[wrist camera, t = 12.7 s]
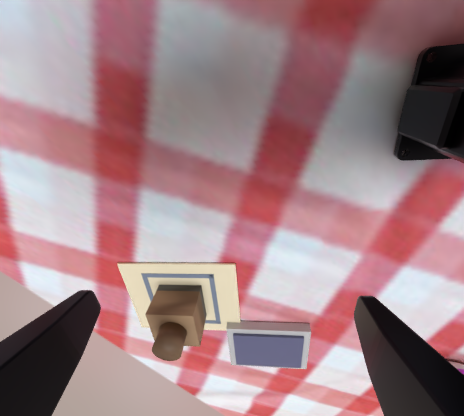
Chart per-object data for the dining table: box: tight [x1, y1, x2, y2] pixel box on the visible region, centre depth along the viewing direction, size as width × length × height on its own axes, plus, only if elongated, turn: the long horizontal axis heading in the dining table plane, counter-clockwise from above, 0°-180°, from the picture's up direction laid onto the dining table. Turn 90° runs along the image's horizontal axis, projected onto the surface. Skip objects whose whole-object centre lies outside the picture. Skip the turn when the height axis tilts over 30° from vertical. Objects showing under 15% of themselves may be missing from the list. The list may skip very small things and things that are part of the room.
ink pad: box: [226, 321, 311, 369], centre depth 28 cm, size 9×7×1 cm
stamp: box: [145, 285, 207, 361], centre depth 23 cm, size 4×4×6 cm
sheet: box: [117, 262, 241, 331], centre depth 26 cm, size 12×10×1 cm
